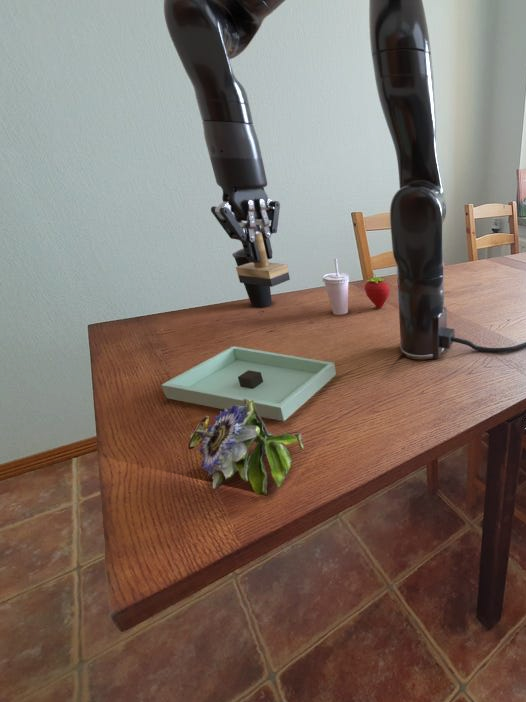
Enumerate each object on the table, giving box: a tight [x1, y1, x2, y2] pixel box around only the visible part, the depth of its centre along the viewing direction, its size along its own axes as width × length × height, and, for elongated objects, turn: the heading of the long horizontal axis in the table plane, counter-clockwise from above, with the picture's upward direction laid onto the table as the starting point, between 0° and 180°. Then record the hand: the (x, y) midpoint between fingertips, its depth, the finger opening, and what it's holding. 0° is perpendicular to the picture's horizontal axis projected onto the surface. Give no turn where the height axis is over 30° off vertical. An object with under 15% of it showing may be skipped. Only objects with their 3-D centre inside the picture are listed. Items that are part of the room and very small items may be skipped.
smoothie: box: [322, 258, 350, 316], centre depth 95 cm, size 6×6×14 cm
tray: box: [160, 346, 337, 422], centre depth 65 cm, size 22×15×3 cm
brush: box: [235, 232, 291, 288], centre depth 70 cm, size 7×5×9 cm
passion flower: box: [187, 399, 305, 497], centre depth 48 cm, size 11×11×12 cm
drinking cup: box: [231, 228, 273, 308], centre depth 96 cm, size 8×8×20 cm
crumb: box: [238, 370, 263, 389], centre depth 65 cm, size 2×2×2 cm
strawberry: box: [364, 272, 391, 309], centre depth 100 cm, size 6×8×10 cm
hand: (260, 259), depth 70 cm, fingers closed on brush, 2 cm apart
